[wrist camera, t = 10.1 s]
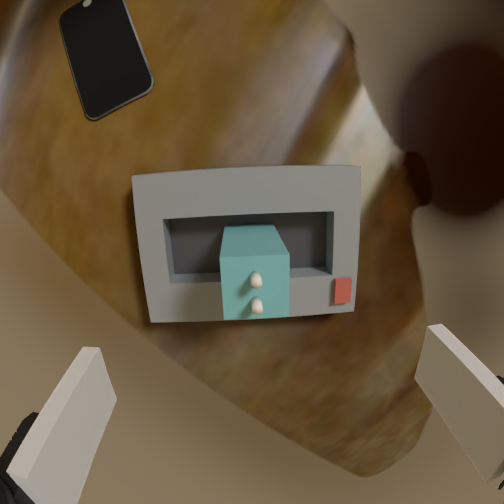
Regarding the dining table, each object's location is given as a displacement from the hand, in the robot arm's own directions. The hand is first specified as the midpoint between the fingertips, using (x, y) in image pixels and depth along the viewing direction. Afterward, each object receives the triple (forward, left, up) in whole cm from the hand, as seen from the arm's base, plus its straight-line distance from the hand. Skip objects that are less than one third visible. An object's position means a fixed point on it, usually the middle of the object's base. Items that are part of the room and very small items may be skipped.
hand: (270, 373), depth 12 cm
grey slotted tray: (0, 0, -20) cm, 20 cm away
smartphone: (-21, -14, -21) cm, 33 cm away
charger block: (+1, 0, -20) cm, 20 cm away
